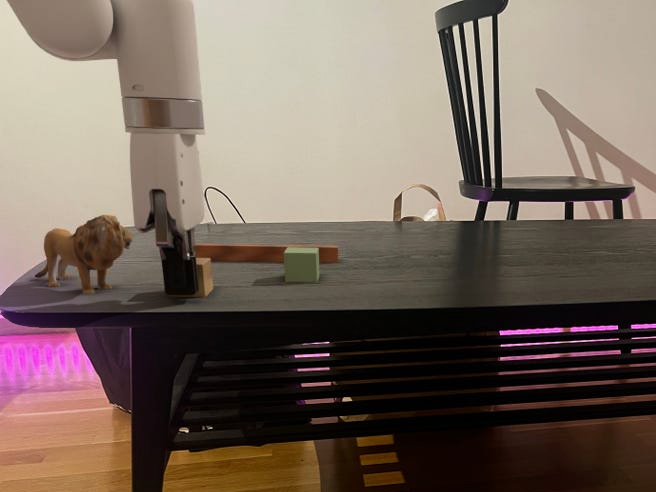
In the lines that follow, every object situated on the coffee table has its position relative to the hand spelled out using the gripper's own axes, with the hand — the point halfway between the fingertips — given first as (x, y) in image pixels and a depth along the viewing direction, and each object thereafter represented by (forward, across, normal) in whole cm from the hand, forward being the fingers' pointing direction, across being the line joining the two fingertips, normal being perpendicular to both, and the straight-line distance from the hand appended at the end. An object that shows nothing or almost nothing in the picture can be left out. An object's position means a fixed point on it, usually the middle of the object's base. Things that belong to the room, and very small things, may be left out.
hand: (182, 293), depth 77 cm
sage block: (+1, -13, +12) cm, 17 cm away
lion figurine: (+1, -7, -13) cm, 14 cm away
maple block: (+1, -4, 0) cm, 4 cm away
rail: (+1, -24, +6) cm, 25 cm away
